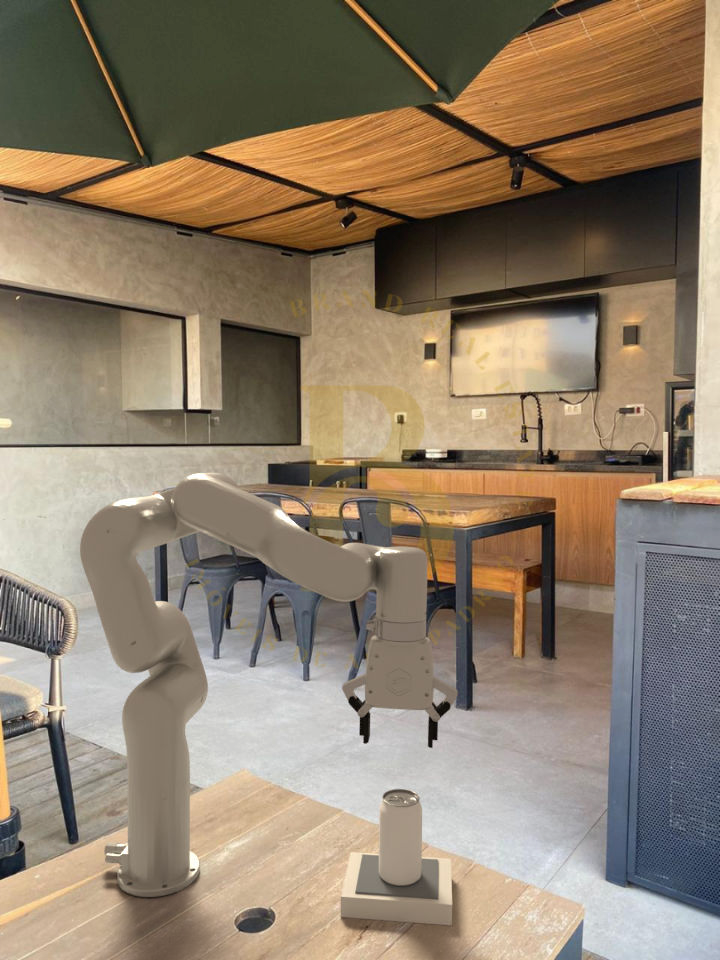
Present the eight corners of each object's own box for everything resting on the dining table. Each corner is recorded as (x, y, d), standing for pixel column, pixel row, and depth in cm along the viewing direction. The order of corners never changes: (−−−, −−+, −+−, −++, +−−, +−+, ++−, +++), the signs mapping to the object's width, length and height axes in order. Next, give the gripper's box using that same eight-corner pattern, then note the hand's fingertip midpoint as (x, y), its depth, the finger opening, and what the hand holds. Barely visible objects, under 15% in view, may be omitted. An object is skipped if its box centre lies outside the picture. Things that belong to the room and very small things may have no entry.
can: (418, 890, 107) (419, 809, 106) (374, 884, 108) (375, 804, 108) (424, 866, 113) (425, 790, 113) (383, 861, 115) (383, 785, 114)
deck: (340, 916, 106) (340, 894, 106) (350, 870, 118) (350, 850, 118) (451, 925, 104) (452, 902, 104) (450, 877, 116) (450, 856, 116)
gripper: (340, 633, 107) (338, 748, 107) (459, 638, 105) (456, 756, 106) (346, 621, 114) (344, 729, 115) (458, 626, 112) (455, 736, 113)
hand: (398, 742), depth 110 cm, fingers open, 9 cm apart
